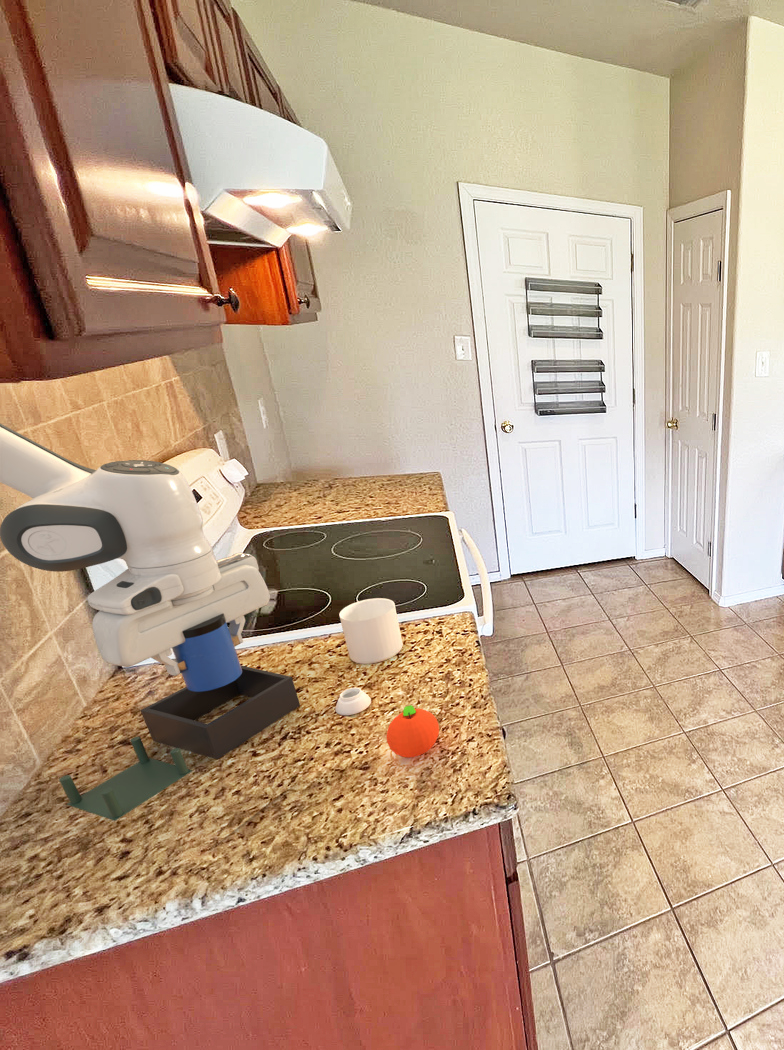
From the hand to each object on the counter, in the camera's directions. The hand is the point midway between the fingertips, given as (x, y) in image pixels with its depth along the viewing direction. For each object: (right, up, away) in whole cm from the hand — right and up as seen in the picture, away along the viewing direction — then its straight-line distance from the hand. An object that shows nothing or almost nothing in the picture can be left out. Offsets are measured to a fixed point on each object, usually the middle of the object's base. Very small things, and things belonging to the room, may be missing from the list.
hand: (207, 658), depth 85 cm
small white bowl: (+16, -11, +10) cm, 21 cm away
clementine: (+31, -14, +1) cm, 34 cm away
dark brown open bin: (0, -12, +5) cm, 13 cm away
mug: (+9, -4, +27) cm, 29 cm away
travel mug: (0, -3, +1) cm, 4 cm away
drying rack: (-3, -17, -8) cm, 19 cm away
